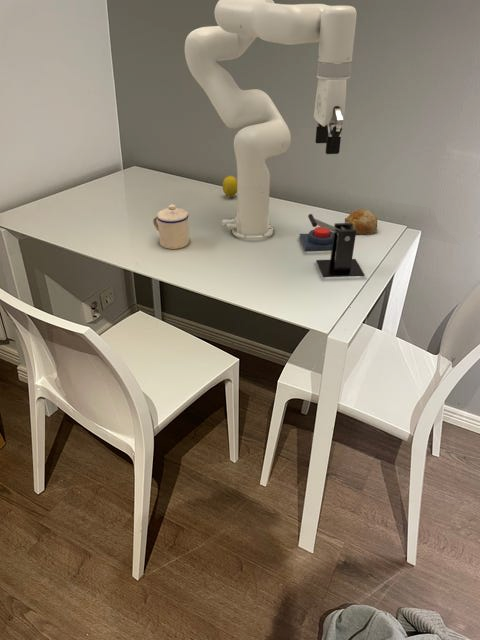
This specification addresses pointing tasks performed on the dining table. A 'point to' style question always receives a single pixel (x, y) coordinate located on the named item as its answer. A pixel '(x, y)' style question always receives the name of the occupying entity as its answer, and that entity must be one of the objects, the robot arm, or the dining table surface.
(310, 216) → the lever
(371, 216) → the bread roll
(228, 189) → the lemon
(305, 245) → the button housing
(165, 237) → the teacup with lid
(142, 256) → the dining table surface
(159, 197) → the dining table surface
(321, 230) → the button
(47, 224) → the dining table surface
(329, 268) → the lever bracket
